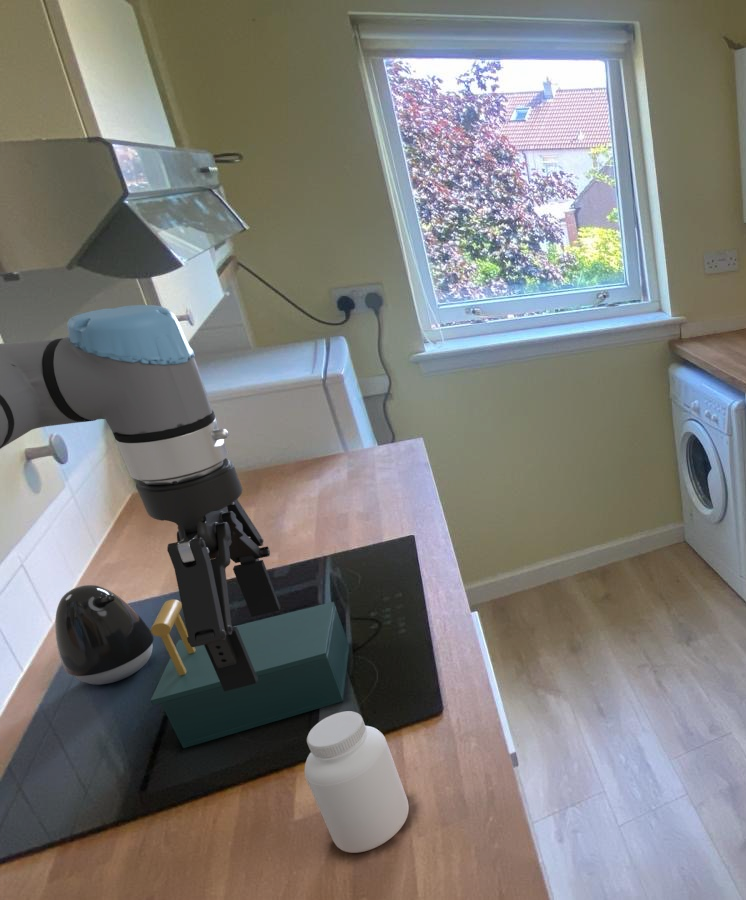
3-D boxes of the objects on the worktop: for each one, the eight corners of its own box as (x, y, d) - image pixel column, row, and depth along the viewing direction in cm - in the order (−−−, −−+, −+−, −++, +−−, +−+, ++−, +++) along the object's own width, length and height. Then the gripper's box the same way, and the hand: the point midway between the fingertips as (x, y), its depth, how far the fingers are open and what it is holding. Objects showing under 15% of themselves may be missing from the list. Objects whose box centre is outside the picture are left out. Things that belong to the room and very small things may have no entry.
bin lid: (152, 705, 94) (123, 646, 90) (180, 644, 105) (155, 590, 101) (327, 657, 101) (306, 601, 97) (335, 605, 112) (317, 554, 109)
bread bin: (183, 748, 97) (160, 703, 94) (206, 685, 108) (187, 643, 105) (343, 701, 104) (327, 657, 101) (349, 646, 116) (335, 606, 112)
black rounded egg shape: (116, 698, 106) (71, 612, 100) (57, 692, 108) (9, 607, 102) (180, 652, 116) (143, 571, 109) (125, 647, 117) (84, 566, 111)
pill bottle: (316, 845, 83) (274, 746, 77) (374, 789, 90) (340, 694, 84) (370, 864, 81) (330, 764, 75) (425, 805, 88) (393, 709, 82)
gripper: (197, 515, 62) (275, 709, 70) (255, 420, 82) (310, 579, 91) (83, 536, 59) (179, 736, 67) (173, 432, 80) (238, 595, 88)
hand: (254, 646), depth 79 cm, fingers open, 13 cm apart
